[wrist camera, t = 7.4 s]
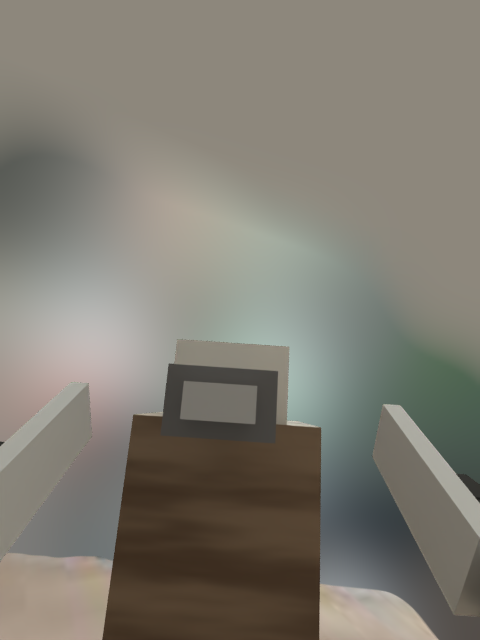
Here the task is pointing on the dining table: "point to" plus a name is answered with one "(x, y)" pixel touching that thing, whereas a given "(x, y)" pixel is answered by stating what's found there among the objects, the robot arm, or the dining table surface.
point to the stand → (217, 537)
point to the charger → (226, 391)
